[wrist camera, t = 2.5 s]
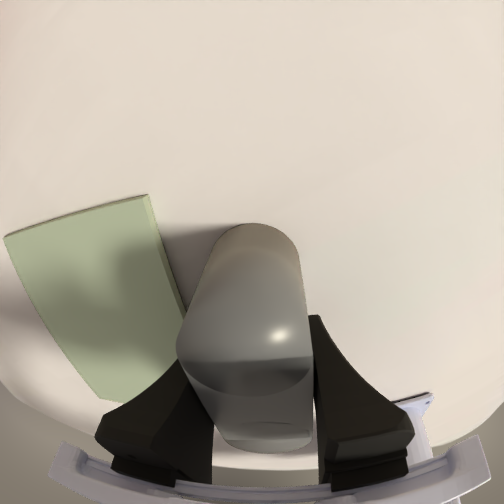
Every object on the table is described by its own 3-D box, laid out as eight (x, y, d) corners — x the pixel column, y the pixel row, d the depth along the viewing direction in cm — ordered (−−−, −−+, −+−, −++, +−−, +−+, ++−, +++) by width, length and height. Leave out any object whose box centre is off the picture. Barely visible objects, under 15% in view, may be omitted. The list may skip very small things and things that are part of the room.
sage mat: (226, 407, 18) (225, 413, 18) (101, 393, 20) (99, 398, 19) (148, 194, 11) (142, 198, 11) (8, 234, 13) (2, 238, 12)
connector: (307, 392, 17) (311, 463, 12) (249, 395, 17) (242, 465, 12) (295, 218, 11) (310, 300, 6) (201, 229, 12) (155, 311, 7)
